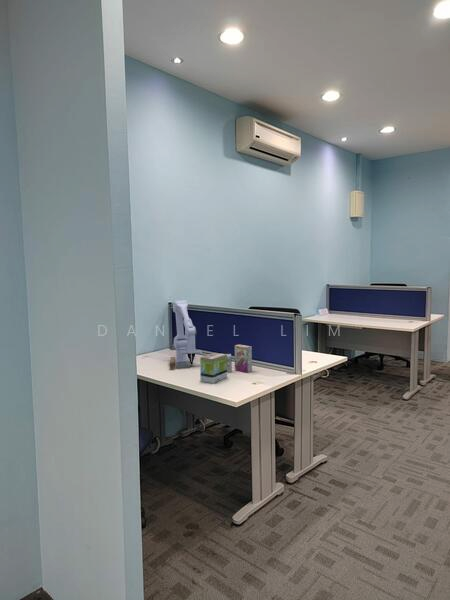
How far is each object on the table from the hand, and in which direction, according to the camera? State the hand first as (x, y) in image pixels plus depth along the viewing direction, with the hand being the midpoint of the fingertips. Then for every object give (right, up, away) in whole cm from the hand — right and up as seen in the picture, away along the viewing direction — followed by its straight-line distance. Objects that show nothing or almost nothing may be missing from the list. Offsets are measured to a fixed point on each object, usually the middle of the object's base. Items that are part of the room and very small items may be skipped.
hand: (191, 364), depth 268 cm
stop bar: (-13, -2, -1) cm, 13 cm away
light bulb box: (+22, -2, -14) cm, 26 cm away
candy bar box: (+35, -2, -14) cm, 38 cm away
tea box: (+16, -4, -33) cm, 37 cm away
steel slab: (-6, -2, -1) cm, 6 cm away
